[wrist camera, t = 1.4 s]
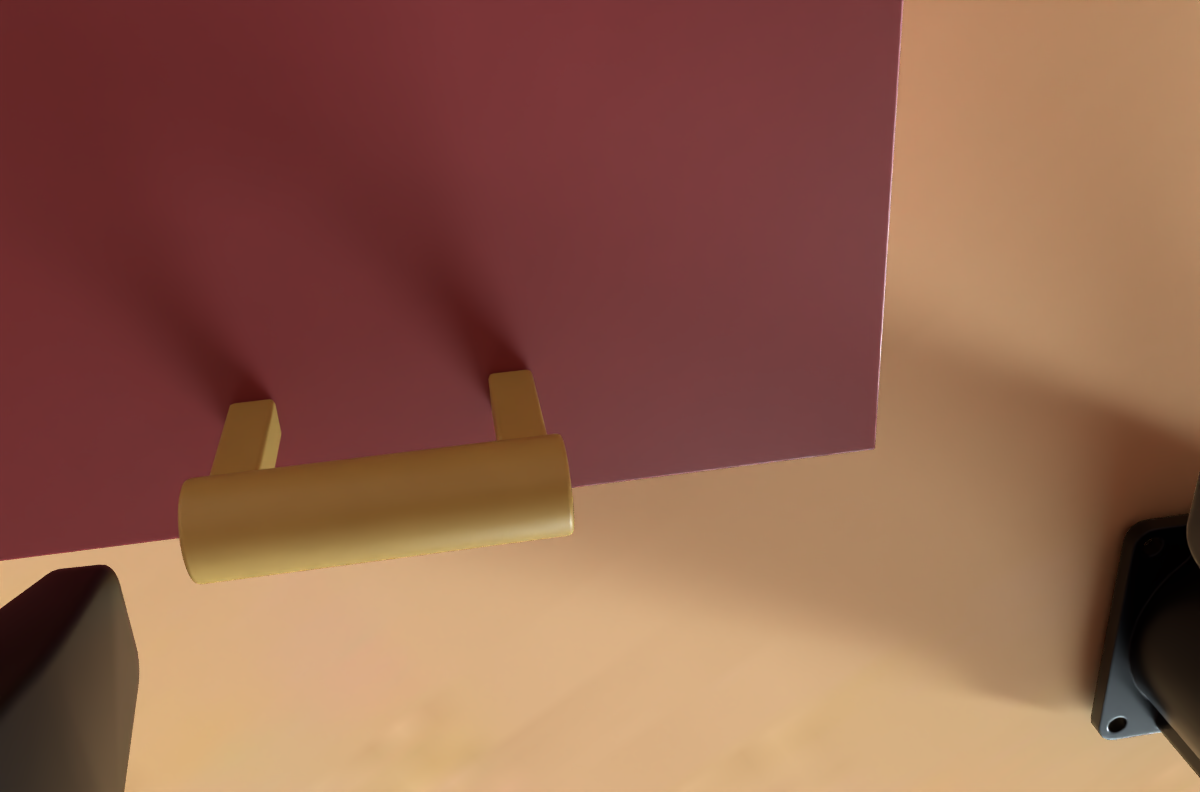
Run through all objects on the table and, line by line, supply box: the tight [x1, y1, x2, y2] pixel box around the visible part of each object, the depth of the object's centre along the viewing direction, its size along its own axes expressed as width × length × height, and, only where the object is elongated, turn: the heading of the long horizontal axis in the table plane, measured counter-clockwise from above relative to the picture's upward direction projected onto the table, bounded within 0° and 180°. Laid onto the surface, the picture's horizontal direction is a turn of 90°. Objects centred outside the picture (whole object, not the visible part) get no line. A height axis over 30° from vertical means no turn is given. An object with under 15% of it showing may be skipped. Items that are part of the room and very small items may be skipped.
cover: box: [0, 0, 904, 584], centre depth 15 cm, size 11×16×4 cm
